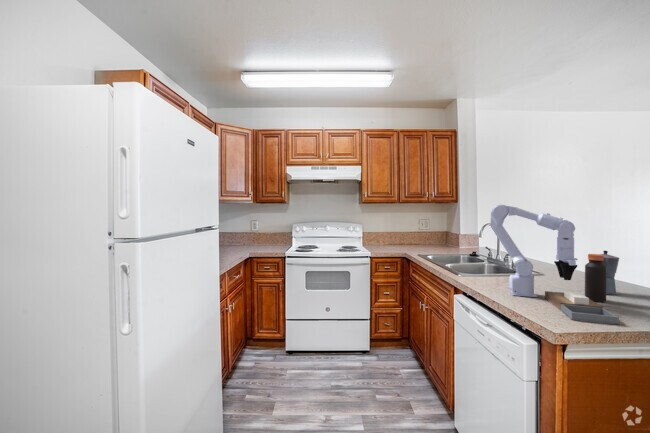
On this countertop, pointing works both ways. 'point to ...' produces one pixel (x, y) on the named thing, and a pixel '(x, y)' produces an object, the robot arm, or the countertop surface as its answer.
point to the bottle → (595, 278)
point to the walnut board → (565, 300)
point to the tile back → (566, 293)
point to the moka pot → (610, 272)
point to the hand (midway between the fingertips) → (565, 278)
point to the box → (589, 314)
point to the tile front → (579, 299)
